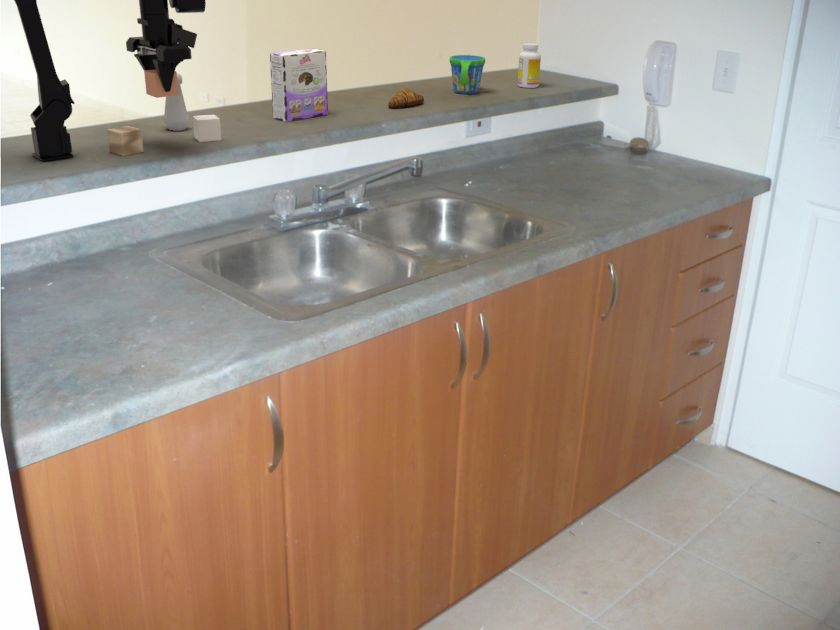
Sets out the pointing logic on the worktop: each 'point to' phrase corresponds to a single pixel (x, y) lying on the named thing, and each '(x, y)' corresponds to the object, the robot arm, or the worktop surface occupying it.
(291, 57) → the cake mix box
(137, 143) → the oak cube
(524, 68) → the supplement bottle
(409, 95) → the croissant
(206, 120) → the off-white cube
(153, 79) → the terracotta cube
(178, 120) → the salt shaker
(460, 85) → the snack cup
